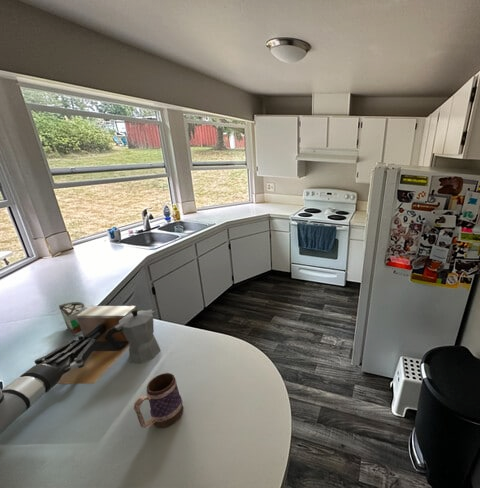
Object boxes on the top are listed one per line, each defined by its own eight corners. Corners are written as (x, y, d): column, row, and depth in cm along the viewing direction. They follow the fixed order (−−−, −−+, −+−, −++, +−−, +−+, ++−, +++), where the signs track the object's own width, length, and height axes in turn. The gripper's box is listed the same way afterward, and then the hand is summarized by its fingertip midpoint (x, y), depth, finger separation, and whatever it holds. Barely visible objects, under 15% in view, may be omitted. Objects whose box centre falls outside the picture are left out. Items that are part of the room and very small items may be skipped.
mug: (171, 399, 71) (164, 366, 67) (189, 409, 68) (183, 375, 64) (133, 433, 62) (122, 398, 58) (152, 446, 59) (142, 410, 55)
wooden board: (29, 386, 73) (28, 384, 73) (96, 331, 96) (96, 330, 95) (94, 385, 74) (93, 383, 74) (145, 331, 97) (144, 330, 96)
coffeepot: (156, 338, 93) (147, 297, 87) (172, 347, 89) (163, 304, 83) (108, 367, 80) (92, 321, 74) (124, 379, 76) (109, 331, 70)
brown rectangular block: (85, 341, 90) (76, 315, 86) (98, 330, 95) (90, 305, 92) (131, 341, 90) (124, 315, 87) (142, 330, 96) (135, 306, 93)
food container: (98, 330, 97) (91, 308, 93) (77, 339, 92) (68, 316, 88) (86, 318, 103) (79, 297, 99) (66, 326, 98) (58, 304, 95)
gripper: (11, 396, 66) (86, 336, 89) (62, 395, 67) (124, 336, 89) (0, 375, 64) (80, 318, 86) (53, 374, 65) (119, 318, 87)
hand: (103, 327), depth 88 cm, fingers closed
